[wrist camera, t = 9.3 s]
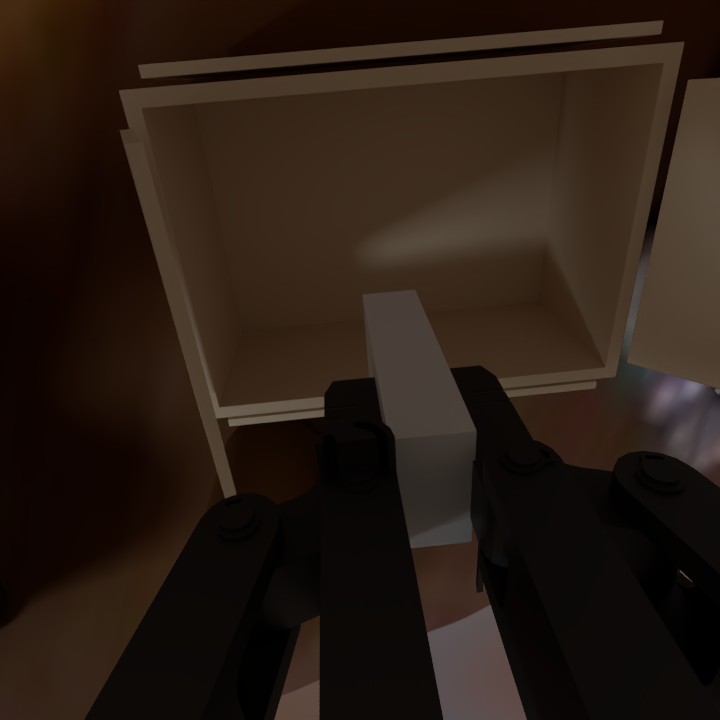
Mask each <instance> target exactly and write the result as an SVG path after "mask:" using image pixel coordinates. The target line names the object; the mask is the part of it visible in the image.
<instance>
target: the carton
mask: <svg viewBox="0 0 720 720" xmlns="http://www.w3.org/2000/svg"><path fill="white" fill-rule="evenodd" d="M663 21H664V20H663ZM663 21H651V22H640V23H628V24H616V25H604V26H592V27H581V28H569V29H557V30H545V31H534V32H522V33H510V34H498V35H486V36H475V37H463V38H451V39H439V40H427V41H416V42H404V43H392V44H380V45H369V46H357V47H345V48H333V49H321V50H310V51H298V52H286V53H274V54H263V55H251V56H239V57H227V58H215V59H204V60H192V61H180V62H168V63H157V64H145V65H138V67H139V71H140V75H141V78H143V79H175V80H192V79H204V78H215V77H227V76H239V75H250V74H262V73H274V72H285V71H297V70H309V69H320V68H332V67H344V66H355V65H367V64H378V63H390V62H402V61H413V60H425V59H437V58H448V57H460V56H472V55H483V54H495V53H507V52H518V51H530V50H541V49H553V48H565V47H575V46H582V45H589V44H596V43H603V42H609V41H616V40H623V39H630V38H637V37H644V36H651V35H657V34H661V32H662V26H663ZM683 47H684V42H674V43H663V44H651V45H640V46H628V47H616V48H605V49H593V50H582V51H570V52H558V53H547V54H535V55H523V56H512V57H500V58H489V59H477V60H465V61H454V62H442V63H431V64H419V65H407V66H396V67H384V68H373V69H361V70H349V71H338V72H326V73H314V74H303V75H291V76H280V77H268V78H256V79H245V80H233V81H222V82H210V83H198V84H187V85H175V86H164V87H152V88H140V89H129V90H119V93H120V97H121V100H122V104H123V107H124V111H125V115H126V118H127V122H128V126H129V129H132V130H133V131H134V132H135V134H136V135H137V136H138V137H139V138H140V140H141V141H142V142H143V146H144V150H145V153H146V157H147V161H148V164H149V168H150V172H151V176H152V179H153V183H154V187H155V191H156V194H157V198H158V202H159V206H160V209H161V213H162V217H163V221H164V224H165V228H166V232H167V236H168V239H169V243H170V247H171V251H172V254H173V258H174V262H175V266H176V269H177V273H178V277H179V281H180V284H181V288H182V292H183V296H184V299H185V303H186V307H187V311H188V314H189V318H190V322H191V325H192V329H193V333H194V337H195V340H196V344H197V348H198V352H199V355H200V359H201V363H202V367H203V370H204V374H205V378H206V382H207V385H208V389H209V393H210V397H211V400H212V404H213V408H214V412H215V415H216V418H224V417H229V418H228V422H229V426H238V425H248V424H258V423H267V422H277V421H286V420H296V419H305V418H315V417H324V394H325V392H326V391H327V389H328V388H329V386H330V385H331V383H332V382H333V381H340V380H350V379H360V378H369V370H368V357H367V344H366V332H365V319H364V306H363V294H374V293H384V292H395V291H406V290H415V291H416V293H417V295H418V298H419V300H420V302H421V304H422V307H423V309H424V311H425V314H426V316H427V318H428V321H429V323H430V325H431V327H432V330H433V332H434V334H435V337H436V339H437V341H438V343H439V346H440V348H441V350H442V353H443V355H444V357H445V360H446V362H447V364H448V366H449V368H458V367H468V366H478V365H481V366H482V367H484V368H485V369H487V370H488V371H490V372H491V373H493V374H494V375H496V377H497V379H498V380H499V382H500V384H501V386H502V387H503V391H505V392H506V394H507V396H508V397H516V396H525V395H535V394H545V393H554V392H564V391H573V390H583V389H592V388H595V387H596V382H597V381H596V380H595V379H599V378H608V377H615V376H616V371H617V367H618V362H619V357H620V352H621V347H622V342H623V337H624V333H625V328H626V323H627V318H628V313H629V308H630V304H631V299H632V294H633V289H634V284H635V279H636V275H637V270H638V265H639V260H640V255H641V250H642V245H643V241H644V236H645V231H646V226H647V221H648V216H649V212H650V207H651V202H652V197H653V192H654V187H655V182H656V178H657V173H658V168H659V163H660V158H661V153H662V149H663V144H664V139H665V134H666V129H667V124H668V120H669V115H670V110H671V105H672V100H673V95H674V90H675V86H676V81H677V76H678V71H679V66H680V61H681V57H682V52H683Z"/></svg>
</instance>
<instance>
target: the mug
mask: <svg viewBox="0 0 720 720" xmlns="http://www.w3.org/2000/svg"><path fill="white" fill-rule="evenodd" d="M317 437H318V435H317V434H316V433H315V432H314V431H313V430H312V429H310V428H309V427H307V426H306V425H305V424H303V423H301V422H299V421H296V420H286V421H277V422H267V423H258V424H248V425H242V426H241V427H240V428H238V429H237V430H236V431H235V432H234V433H233V434H232V435H231V437H230V438H229V439H228V441H227V443H226V445H225V447H224V449H225V453H226V457H227V460H228V464H229V468H230V471H231V475H232V479H233V483H234V486H235V490H236V494H243V493H256V494H260V495H264V496H267V497H268V498H270V499H271V500H272V501H273V502H275V503H276V505H277V504H280V503H283V502H285V501H288V500H291V499H293V498H296V497H298V496H300V495H302V494H304V493H305V492H307V491H308V490H310V489H311V488H312V487H313V486H314V485H315V484H316V483H317V482H318V481H319V479H320V475H319V468H318V462H317V455H316V449H315V443H316V440H317ZM223 499H225V497H224V493H223V490H222V487H221V483H220V480H219V476H218V473H217V474H216V478H215V481H214V485H213V488H212V492H211V496H210V500H209V504H208V507H207V511H208V510H209V508H211V507H212V506H214V505H215V504H217V503H218V502H220V501H221V500H223ZM207 511H206V512H207Z"/></svg>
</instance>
